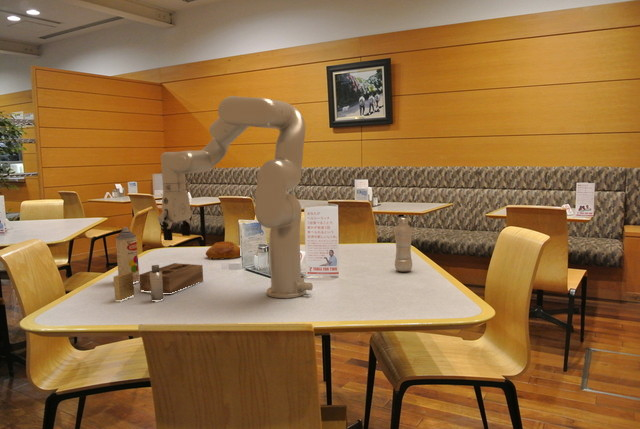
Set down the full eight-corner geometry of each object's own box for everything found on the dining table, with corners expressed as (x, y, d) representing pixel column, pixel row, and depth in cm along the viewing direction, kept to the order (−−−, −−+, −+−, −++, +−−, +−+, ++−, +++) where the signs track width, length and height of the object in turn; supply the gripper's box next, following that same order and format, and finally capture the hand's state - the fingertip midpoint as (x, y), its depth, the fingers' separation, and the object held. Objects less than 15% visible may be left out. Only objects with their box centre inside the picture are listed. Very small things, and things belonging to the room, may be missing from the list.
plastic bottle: (392, 272, 181) (392, 218, 179) (397, 268, 187) (396, 216, 185) (410, 274, 179) (410, 218, 176) (414, 269, 185) (413, 216, 182)
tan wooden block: (134, 297, 158) (132, 272, 157) (120, 302, 153) (118, 277, 152) (129, 296, 159) (127, 272, 158) (115, 301, 153) (113, 276, 152)
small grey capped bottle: (166, 299, 154) (163, 264, 153) (158, 302, 151) (155, 267, 150) (156, 298, 156) (154, 264, 154) (148, 301, 152) (146, 266, 151)
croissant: (239, 264, 213) (240, 246, 211) (202, 260, 213) (204, 242, 211) (244, 257, 227) (246, 240, 226) (210, 253, 227) (212, 236, 226)
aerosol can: (132, 285, 172) (127, 228, 170) (114, 285, 174) (110, 228, 172) (143, 280, 179) (139, 226, 177) (126, 280, 181) (122, 225, 178)
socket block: (203, 281, 176) (202, 265, 175) (170, 295, 159) (169, 277, 158) (175, 279, 180) (174, 263, 179) (140, 292, 163) (139, 274, 163)
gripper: (166, 190, 160) (170, 242, 162) (198, 186, 176) (201, 234, 178) (148, 190, 163) (151, 241, 165) (181, 186, 179) (184, 233, 181)
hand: (177, 237), depth 171 cm, fingers open, 9 cm apart
